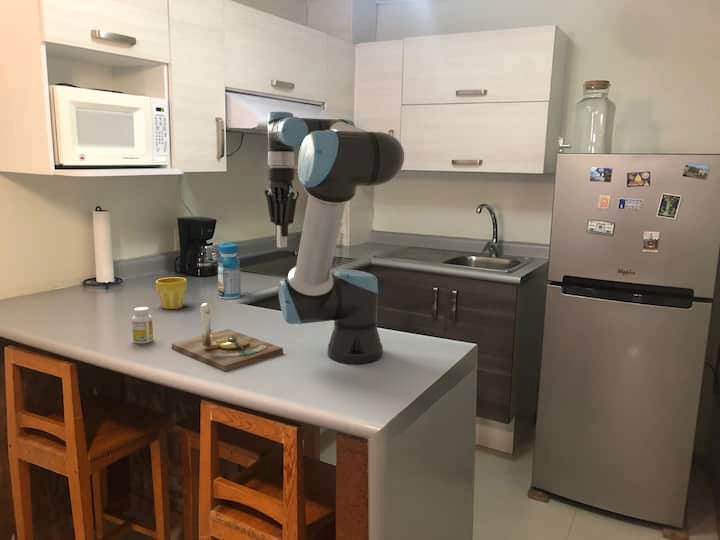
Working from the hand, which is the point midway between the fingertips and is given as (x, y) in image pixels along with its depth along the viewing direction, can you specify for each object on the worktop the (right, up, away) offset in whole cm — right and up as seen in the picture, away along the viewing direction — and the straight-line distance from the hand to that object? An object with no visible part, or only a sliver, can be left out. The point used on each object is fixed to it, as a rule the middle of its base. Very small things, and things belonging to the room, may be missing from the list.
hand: (282, 246), depth 174 cm
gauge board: (-14, -29, -13) cm, 35 cm away
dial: (-13, -28, -14) cm, 34 cm away
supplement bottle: (-39, -28, -5) cm, 48 cm away
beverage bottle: (-26, -17, +47) cm, 57 cm away
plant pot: (-43, -20, +32) cm, 57 cm away
